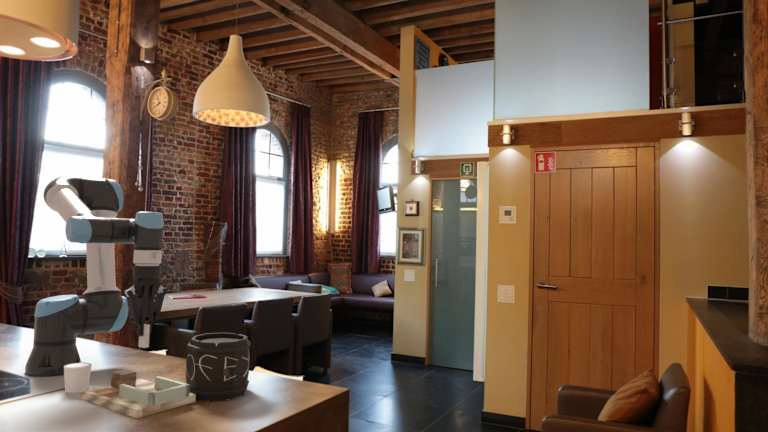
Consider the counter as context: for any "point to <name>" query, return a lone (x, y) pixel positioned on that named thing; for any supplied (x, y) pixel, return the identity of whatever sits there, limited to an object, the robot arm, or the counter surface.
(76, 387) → the shot glass
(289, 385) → the counter surface
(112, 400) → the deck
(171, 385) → the cubby
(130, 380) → the block
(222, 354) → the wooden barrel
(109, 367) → the counter surface
